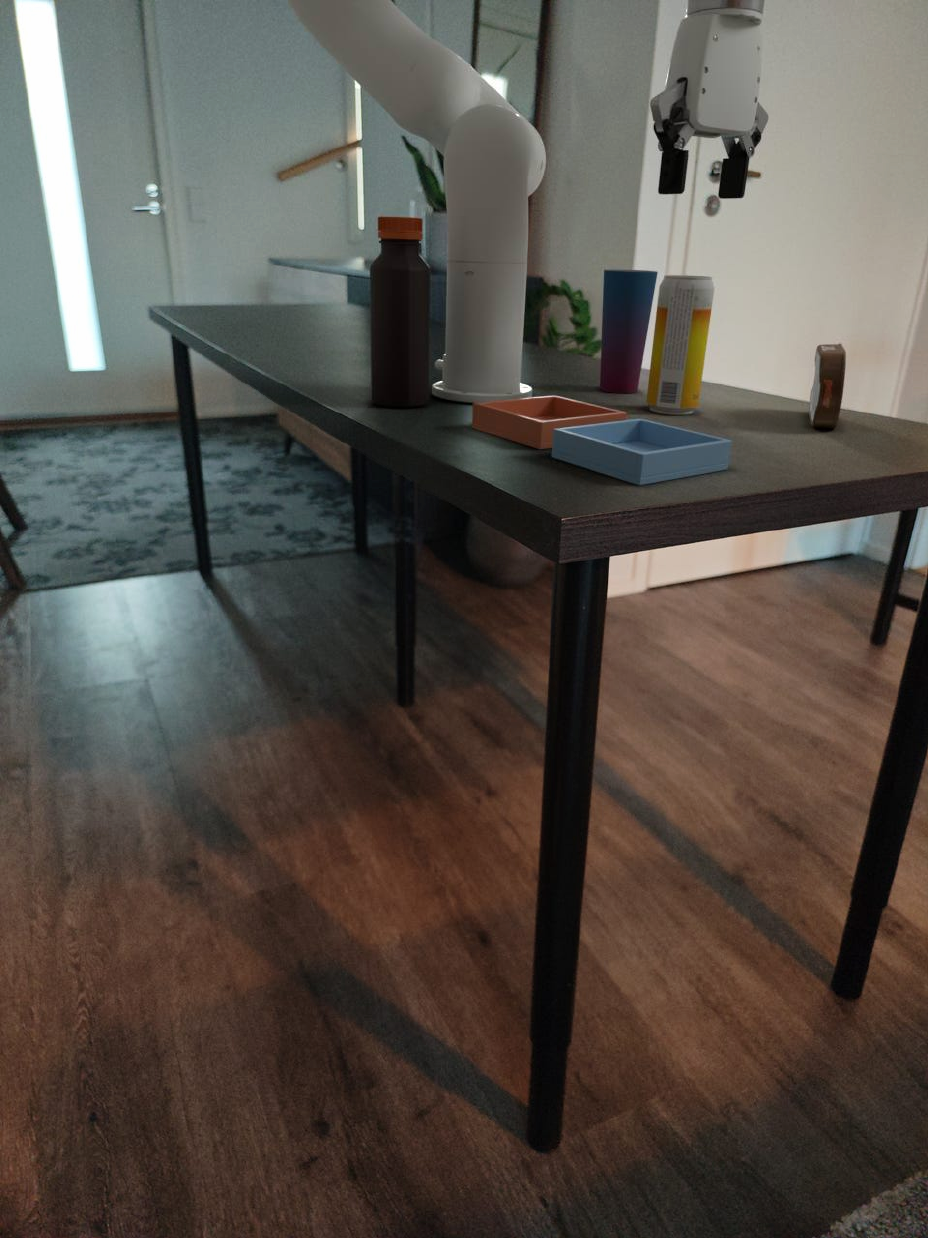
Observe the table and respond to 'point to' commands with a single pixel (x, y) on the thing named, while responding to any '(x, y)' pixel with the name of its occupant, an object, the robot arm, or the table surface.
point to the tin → (827, 386)
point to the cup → (625, 327)
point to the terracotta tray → (537, 418)
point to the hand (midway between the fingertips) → (701, 195)
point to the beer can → (679, 343)
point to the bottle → (400, 316)
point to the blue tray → (641, 450)
